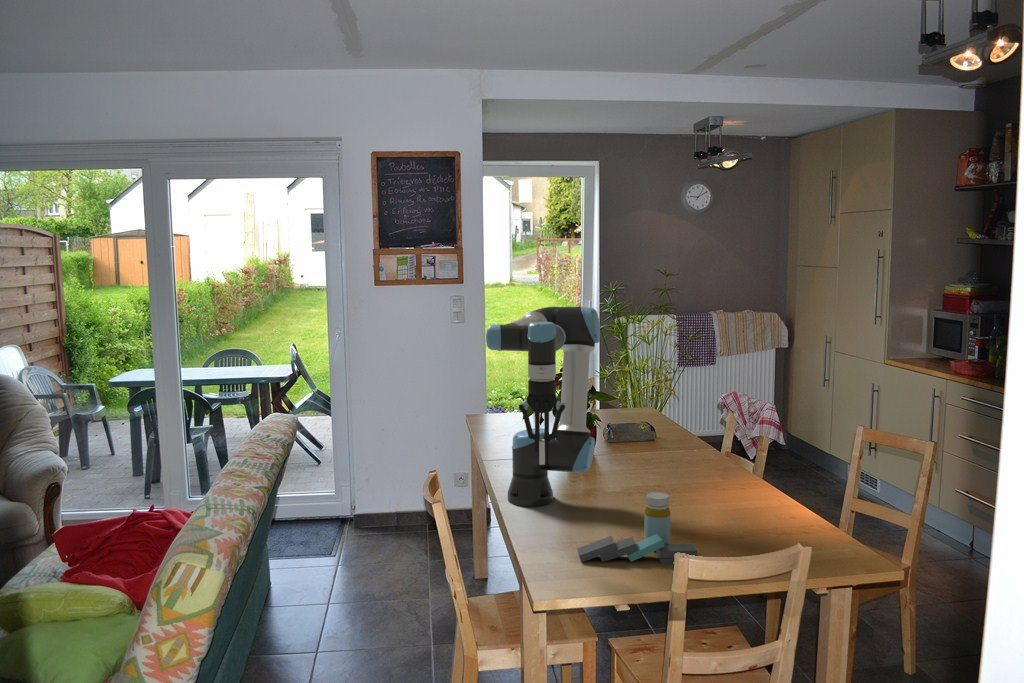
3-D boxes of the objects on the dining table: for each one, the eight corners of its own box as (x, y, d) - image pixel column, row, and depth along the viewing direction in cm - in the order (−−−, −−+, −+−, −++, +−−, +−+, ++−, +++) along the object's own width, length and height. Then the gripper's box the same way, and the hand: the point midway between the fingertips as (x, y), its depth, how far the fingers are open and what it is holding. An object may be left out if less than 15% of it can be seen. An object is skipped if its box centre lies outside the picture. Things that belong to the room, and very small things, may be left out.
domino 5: (659, 550, 203) (697, 550, 203) (655, 543, 208) (692, 543, 208) (659, 558, 203) (697, 557, 203) (655, 550, 208) (692, 550, 208)
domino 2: (599, 555, 204) (635, 543, 204) (597, 548, 209) (632, 536, 209) (602, 562, 204) (637, 550, 204) (600, 554, 209) (634, 543, 209)
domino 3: (628, 555, 204) (662, 539, 204) (623, 548, 209) (657, 533, 209) (630, 562, 204) (664, 546, 204) (626, 555, 209) (659, 539, 209)
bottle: (666, 541, 218) (667, 490, 216) (672, 551, 211) (673, 499, 209) (641, 542, 218) (642, 491, 216) (647, 552, 211) (647, 499, 209)
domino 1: (578, 555, 204) (614, 542, 204) (577, 548, 209) (611, 535, 209) (581, 562, 204) (616, 549, 204) (579, 554, 209) (614, 542, 209)
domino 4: (660, 558, 203) (698, 559, 202) (658, 551, 208) (695, 552, 207) (660, 566, 203) (698, 567, 202) (658, 558, 208) (695, 559, 207)
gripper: (517, 381, 205) (517, 466, 208) (566, 381, 204) (565, 467, 207) (518, 376, 212) (519, 459, 215) (565, 376, 211) (565, 459, 214)
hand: (542, 463), depth 211 cm, fingers closed
